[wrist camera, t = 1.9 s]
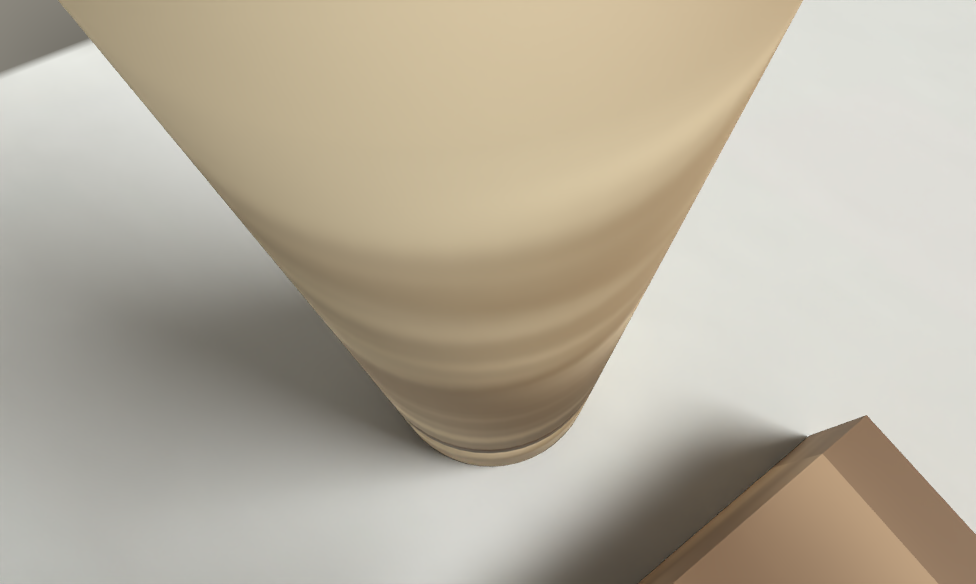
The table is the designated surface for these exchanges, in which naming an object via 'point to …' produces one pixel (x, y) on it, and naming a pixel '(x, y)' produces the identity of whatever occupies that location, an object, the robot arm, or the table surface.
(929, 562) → the board
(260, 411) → the table surface
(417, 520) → the table surface
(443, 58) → the peg
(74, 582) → the table surface
